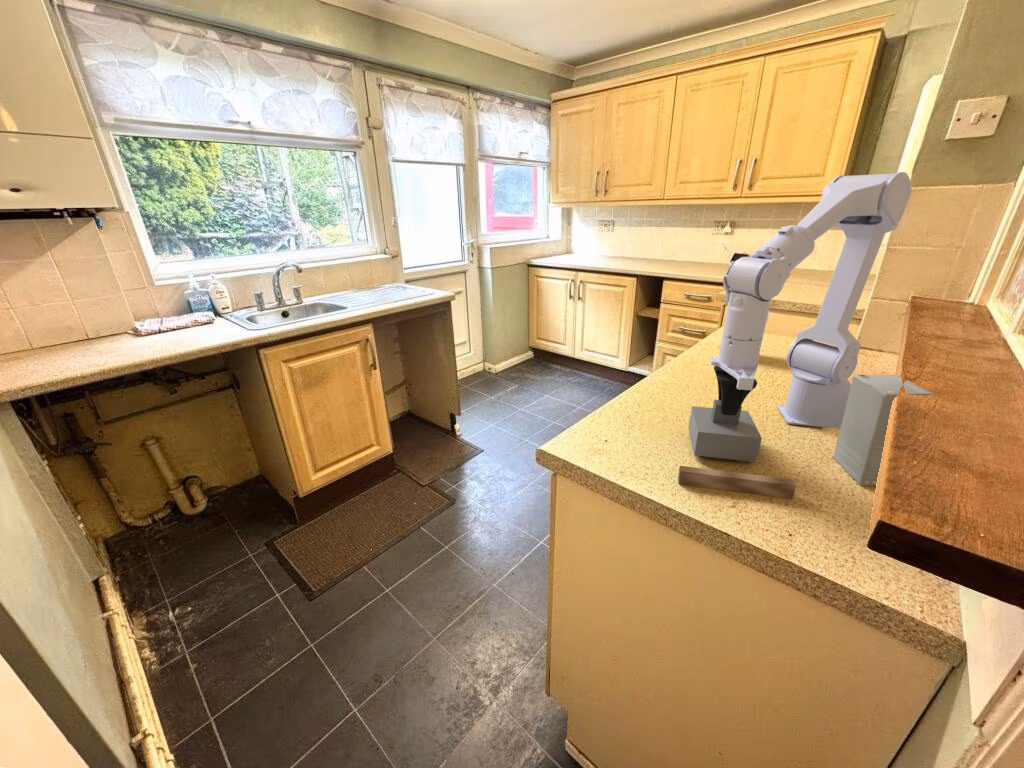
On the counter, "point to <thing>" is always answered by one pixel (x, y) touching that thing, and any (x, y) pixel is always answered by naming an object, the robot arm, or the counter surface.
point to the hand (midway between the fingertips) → (727, 410)
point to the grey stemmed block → (723, 434)
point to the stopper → (737, 482)
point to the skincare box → (868, 424)
